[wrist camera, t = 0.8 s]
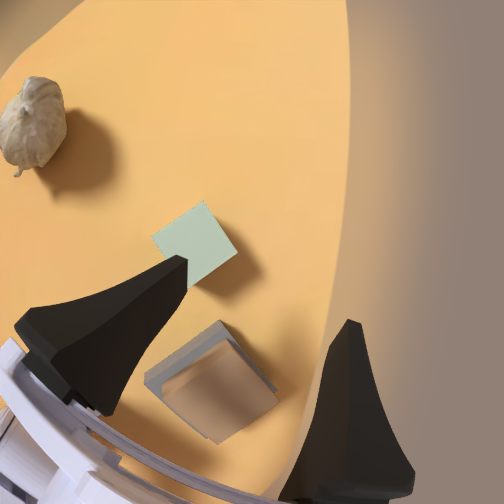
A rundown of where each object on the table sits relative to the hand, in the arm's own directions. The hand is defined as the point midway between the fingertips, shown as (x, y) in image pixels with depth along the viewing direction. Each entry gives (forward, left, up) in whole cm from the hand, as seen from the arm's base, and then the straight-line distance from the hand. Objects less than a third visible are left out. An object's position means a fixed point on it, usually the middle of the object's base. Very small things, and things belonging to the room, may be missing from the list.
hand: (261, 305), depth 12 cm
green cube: (0, +3, -16) cm, 16 cm away
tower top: (-7, -10, -14) cm, 18 cm away
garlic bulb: (-7, +21, -16) cm, 27 cm away
